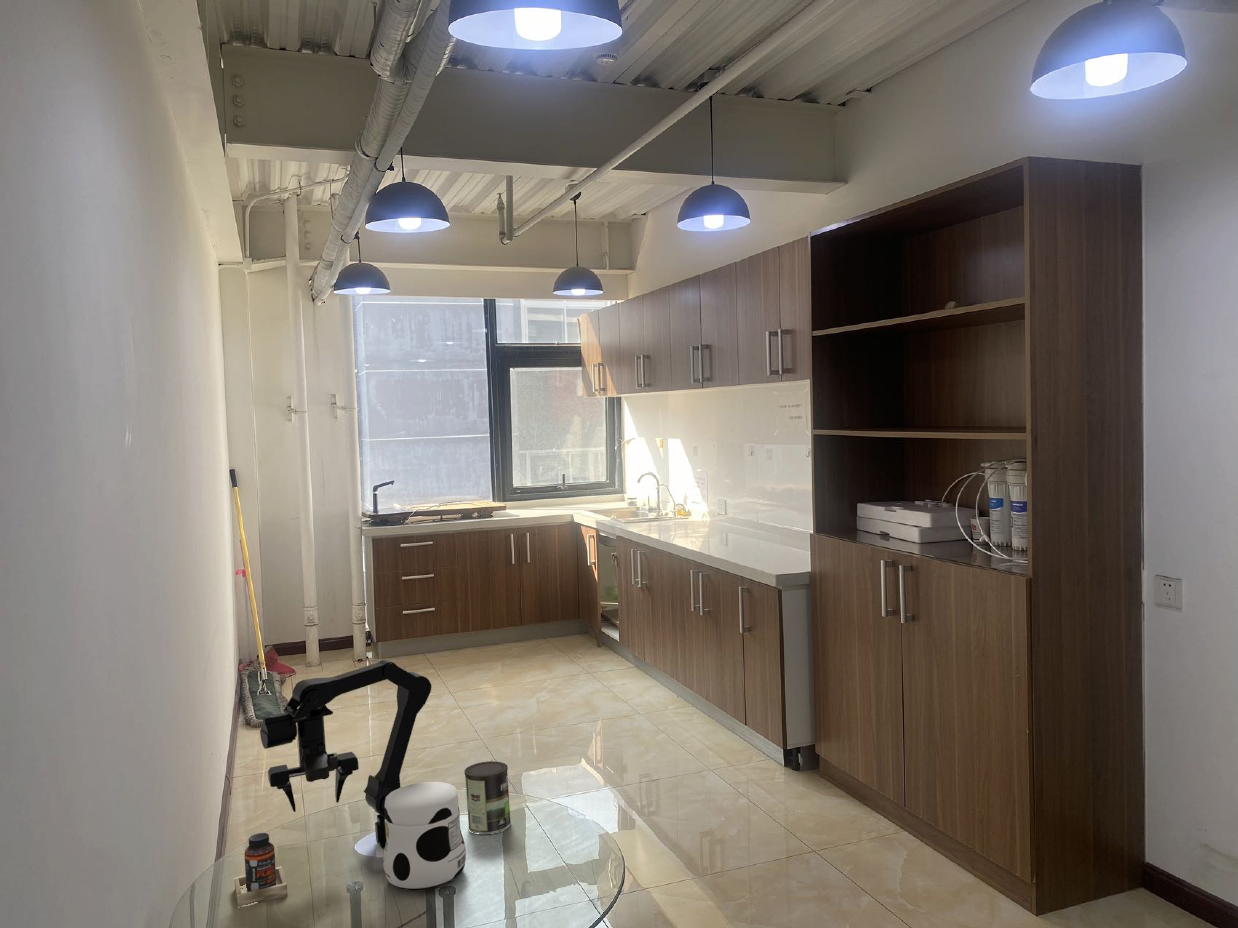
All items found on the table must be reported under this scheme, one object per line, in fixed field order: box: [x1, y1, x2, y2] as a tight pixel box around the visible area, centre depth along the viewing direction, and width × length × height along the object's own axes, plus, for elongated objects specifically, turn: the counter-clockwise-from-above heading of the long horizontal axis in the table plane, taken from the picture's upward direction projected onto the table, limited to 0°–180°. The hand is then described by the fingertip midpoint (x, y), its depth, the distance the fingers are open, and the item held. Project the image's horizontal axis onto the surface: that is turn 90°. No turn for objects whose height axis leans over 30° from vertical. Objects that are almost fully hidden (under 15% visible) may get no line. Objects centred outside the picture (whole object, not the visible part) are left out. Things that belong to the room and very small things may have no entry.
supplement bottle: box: [244, 832, 276, 892], centre depth 195 cm, size 6×6×11 cm
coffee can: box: [464, 760, 512, 836], centre depth 222 cm, size 10×10×14 cm
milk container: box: [382, 781, 467, 892], centre depth 197 cm, size 17×17×18 cm
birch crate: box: [233, 865, 289, 908], centre depth 195 cm, size 10×10×2 cm
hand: (316, 806), depth 207 cm, fingers open, 9 cm apart
